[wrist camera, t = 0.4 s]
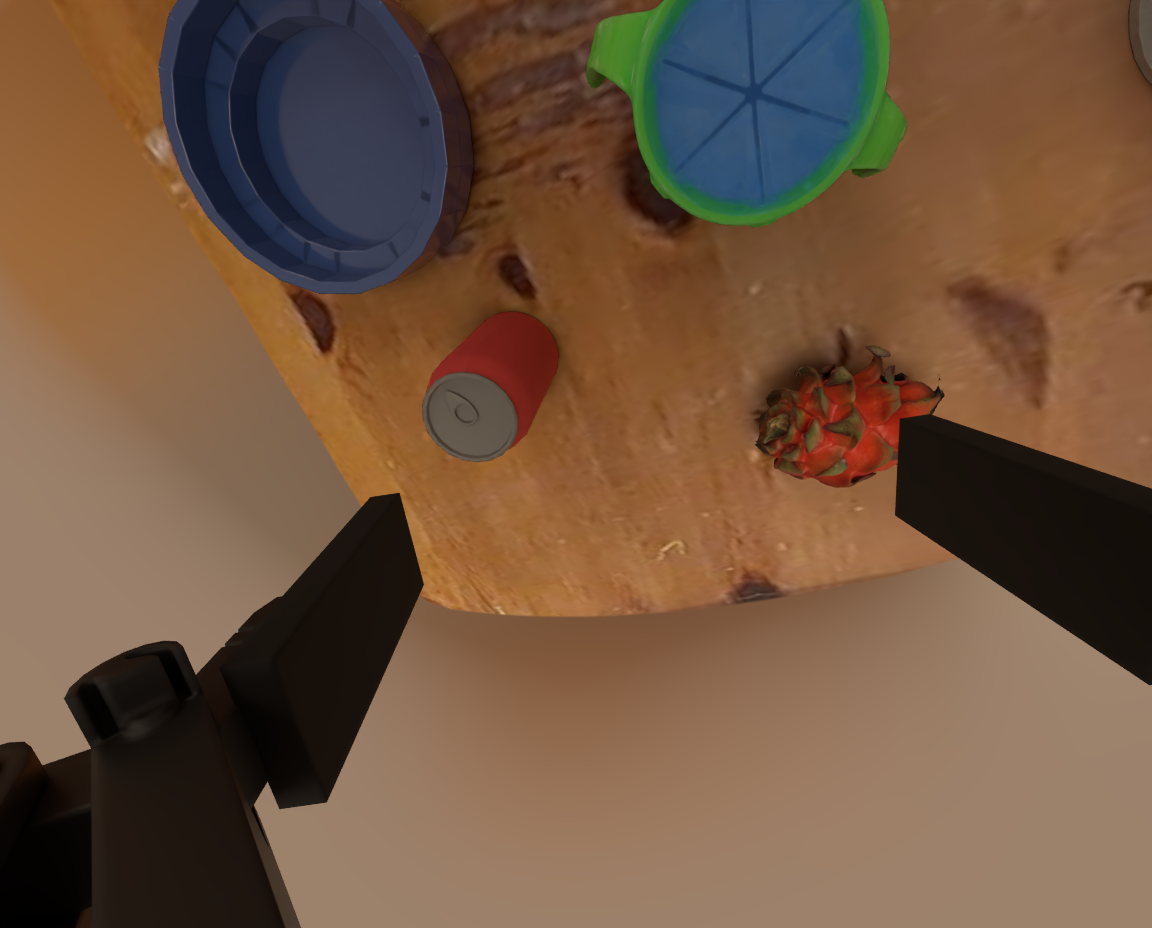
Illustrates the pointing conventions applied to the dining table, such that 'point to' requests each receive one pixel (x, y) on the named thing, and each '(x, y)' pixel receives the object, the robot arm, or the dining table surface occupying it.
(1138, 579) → the robot arm
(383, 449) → the dining table surface
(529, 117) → the dining table surface
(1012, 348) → the dining table surface
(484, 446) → the beer can
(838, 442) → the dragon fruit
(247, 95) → the bowl
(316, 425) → the dining table surface
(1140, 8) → the mate gourd
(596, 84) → the snack cup
